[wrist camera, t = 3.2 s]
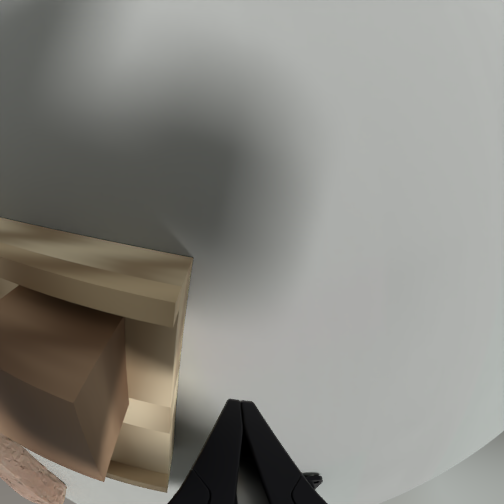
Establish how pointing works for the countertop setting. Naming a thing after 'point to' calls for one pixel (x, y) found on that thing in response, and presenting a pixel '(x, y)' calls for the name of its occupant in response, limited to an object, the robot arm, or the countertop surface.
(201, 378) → the countertop surface
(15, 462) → the brick
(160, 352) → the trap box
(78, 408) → the walnut block
